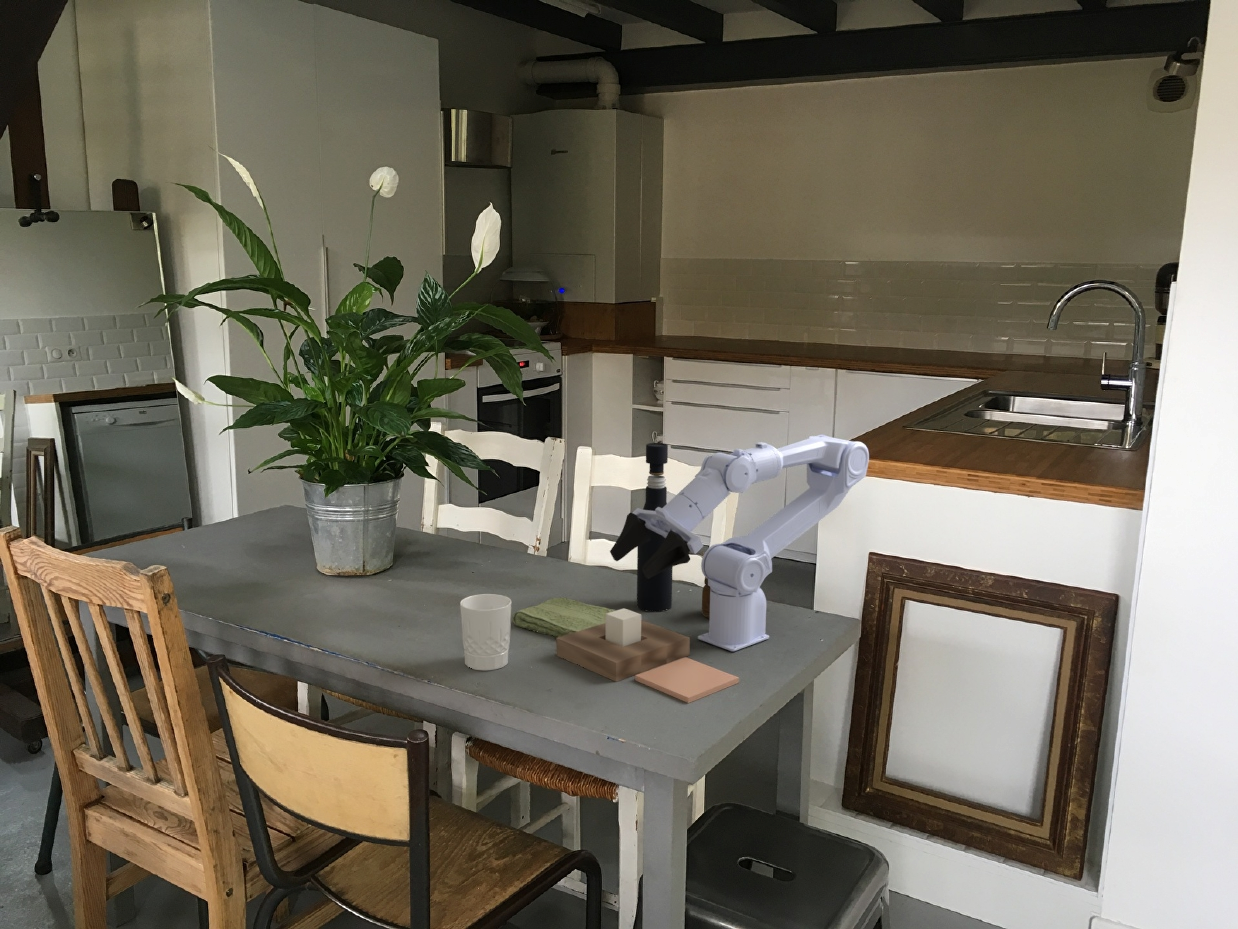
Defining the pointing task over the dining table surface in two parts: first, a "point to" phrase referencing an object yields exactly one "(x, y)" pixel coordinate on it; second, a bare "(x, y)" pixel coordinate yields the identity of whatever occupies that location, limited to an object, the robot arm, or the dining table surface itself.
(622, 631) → the plug
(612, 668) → the brown board with hole
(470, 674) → the dining table surface
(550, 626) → the washcloth
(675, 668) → the tile
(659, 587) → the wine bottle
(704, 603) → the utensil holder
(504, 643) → the white cup
